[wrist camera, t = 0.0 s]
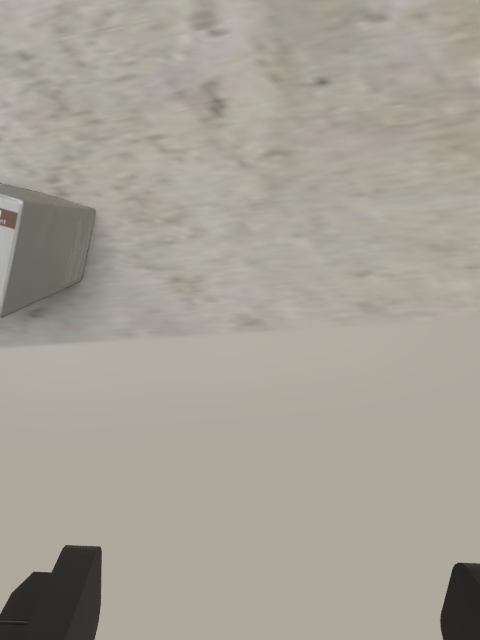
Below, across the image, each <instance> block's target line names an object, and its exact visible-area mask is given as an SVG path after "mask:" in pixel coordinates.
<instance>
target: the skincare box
mask: <svg viewBox="0 0 480 640" xmlns="http://www.w3.org/2000/svg"><path fill="white" fill-rule="evenodd" d="M95 213H96V210H95V209H92V208H89V207H86V206H83V205H79V204H76V203H73V202H70V201H66V200H63V199H60V198H57V197H53V196H50V195H47V194H43V193H39V192H35V191H31V190H27V189H23V188H19V187H15V186H11V185H7V184H2V183H0V319H1V318H3V317H5V316H7V315H9V314H11V313H13V312H15V311H17V310H19V309H21V308H23V307H26V306H28V305H30V304H32V303H35V302H37V301H39V300H41V299H43V298H45V297H47V296H50V295H52V294H54V293H56V292H58V291H60V290H62V289H65V288H67V287H69V286H71V285H73V284H75V283H77V282H79V281H81V280H82V276H83V271H84V266H85V261H86V256H87V251H88V246H89V241H90V237H91V233H92V228H93V223H94V218H95Z"/></svg>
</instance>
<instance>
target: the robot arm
mask: <svg viewBox="0 0 480 640" xmlns="http://www.w3.org/2000/svg"><path fill="white" fill-rule="evenodd" d="M101 559H102V551H101V547H97V546H72V545H66V546H65V547H64V548H63V549H62V551H61V553H60V555H59V558H58V560H57V562H56V564H55V566H54V569H53V571H52V573H48V572H33V573H32V574H31V575H30V576H29V577H28V578H27V579H26V580H25V581H24V582H23V583H22V584H21V585H20V586H19V587H18V588H17V589H16V590H15V591H14V592H12V594H11V596H10V598H9V599H8V601H7V603H6V605H5V607H4V608H3V610H2V612H1V614H0V640H94V639H95V635H96V631H97V626H98V621H99V614H100V606H101V561H102V560H101ZM441 631H442V636H443V640H480V564H476V563H457V564H455V566H454V567H453V570H452V573H451V577H450V581H449V585H448V589H447V593H446V597H445V601H444V605H443V608H442V612H441Z"/></svg>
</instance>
